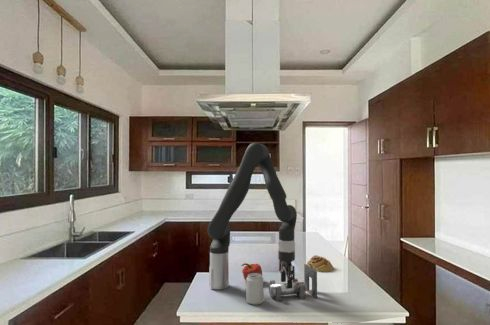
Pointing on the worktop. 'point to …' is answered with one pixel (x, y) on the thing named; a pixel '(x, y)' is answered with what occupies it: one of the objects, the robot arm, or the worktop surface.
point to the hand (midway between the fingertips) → (286, 284)
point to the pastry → (320, 264)
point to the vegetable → (251, 269)
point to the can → (254, 288)
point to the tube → (285, 288)
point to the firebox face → (313, 274)
